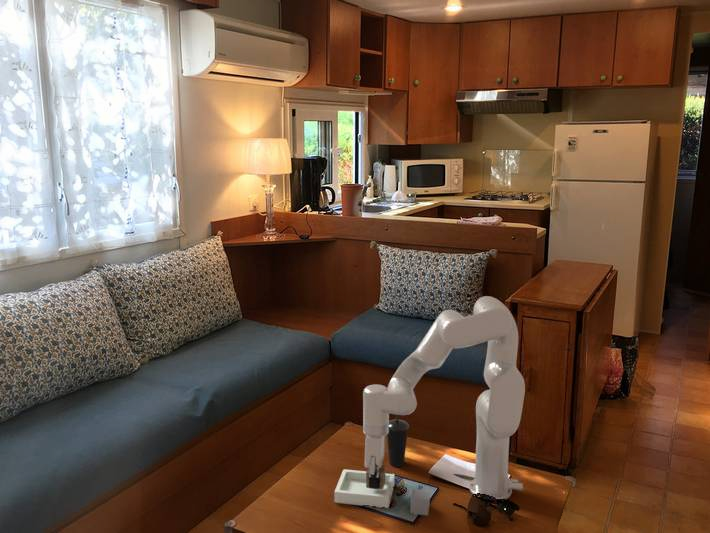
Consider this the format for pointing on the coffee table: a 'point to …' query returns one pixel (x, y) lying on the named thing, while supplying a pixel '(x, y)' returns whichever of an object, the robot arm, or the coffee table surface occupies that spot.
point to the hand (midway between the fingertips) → (375, 482)
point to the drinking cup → (397, 441)
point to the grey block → (420, 501)
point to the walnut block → (381, 474)
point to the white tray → (362, 490)
